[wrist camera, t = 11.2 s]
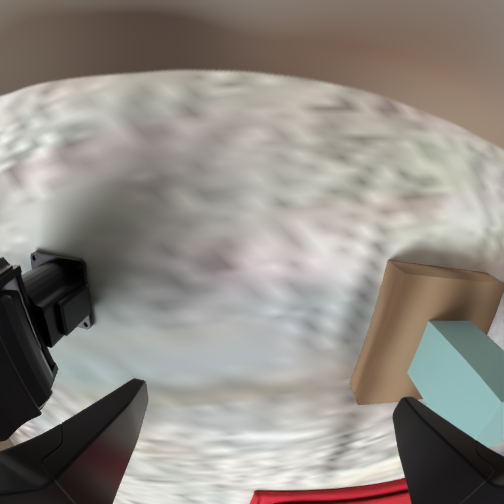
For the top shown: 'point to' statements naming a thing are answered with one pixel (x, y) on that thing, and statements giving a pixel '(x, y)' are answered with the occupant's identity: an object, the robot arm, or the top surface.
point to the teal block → (462, 378)
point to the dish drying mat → (340, 495)
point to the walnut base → (416, 323)
